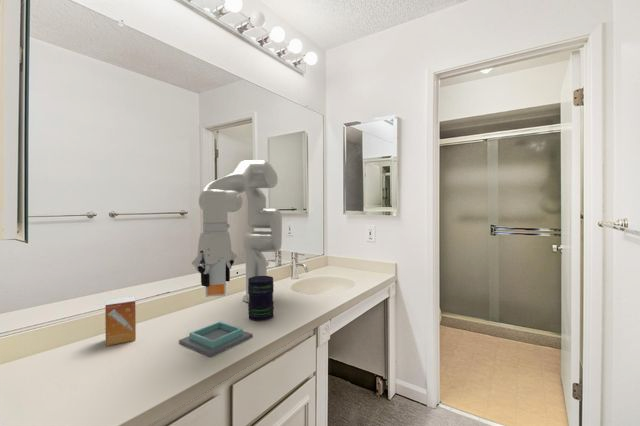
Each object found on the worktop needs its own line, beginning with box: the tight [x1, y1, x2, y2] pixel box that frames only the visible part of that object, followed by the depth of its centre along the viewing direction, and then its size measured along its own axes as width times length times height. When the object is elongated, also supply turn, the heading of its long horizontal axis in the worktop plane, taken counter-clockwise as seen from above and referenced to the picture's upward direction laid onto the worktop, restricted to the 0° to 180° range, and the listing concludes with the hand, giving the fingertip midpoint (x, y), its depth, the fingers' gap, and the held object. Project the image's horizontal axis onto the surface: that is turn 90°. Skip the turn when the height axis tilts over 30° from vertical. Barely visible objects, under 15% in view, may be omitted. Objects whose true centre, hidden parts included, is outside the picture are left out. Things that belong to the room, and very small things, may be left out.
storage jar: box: [247, 275, 275, 322], centre depth 117 cm, size 10×10×15 cm
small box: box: [104, 295, 137, 347], centre depth 97 cm, size 8×6×13 cm
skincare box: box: [205, 258, 227, 298], centre depth 96 cm, size 6×4×12 cm
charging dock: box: [178, 321, 253, 358], centre depth 97 cm, size 16×16×3 cm
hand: (216, 283), depth 96 cm, fingers closed on skincare box, 7 cm apart
